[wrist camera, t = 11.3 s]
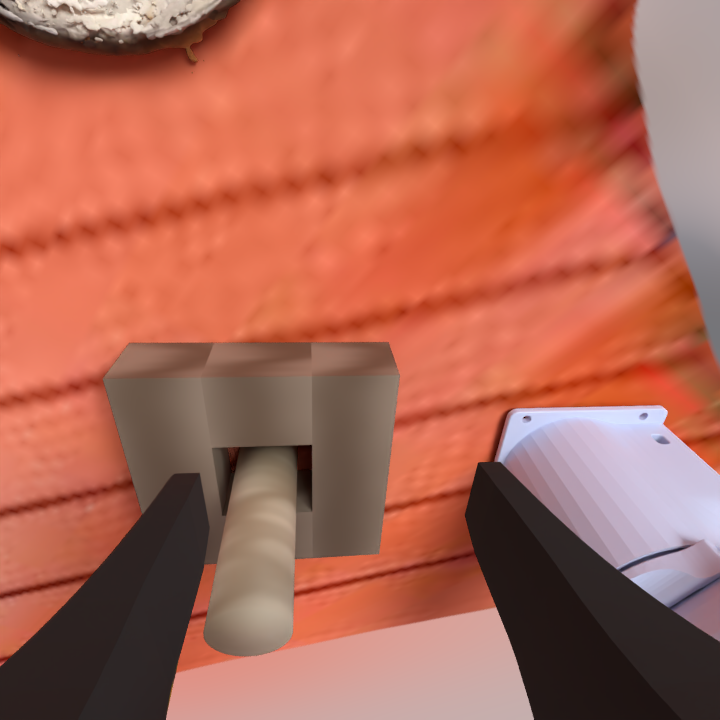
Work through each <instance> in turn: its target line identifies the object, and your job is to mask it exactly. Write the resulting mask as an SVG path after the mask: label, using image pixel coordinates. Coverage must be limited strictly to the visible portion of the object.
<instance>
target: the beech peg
mask: <svg viewBox="0 0 720 720" xmlns="http://www.w3.org/2000/svg"><path fill="white" fill-rule="evenodd" d="M297 463H298V445H289V446H255V447H240V450H239V455H238V460H237V465H236V470H235V475H234V480H233V485H232V490H231V495H230V500H229V505H228V511H227V516H226V521H225V526H224V531H223V536H222V541H221V546H220V551H219V556H218V561H217V566H216V571H215V577H214V582H213V587H212V592H211V597H210V602H209V607H208V612H207V617H206V622H205V627H204V633H203V634H204V639H205V641H206V643H207V644H208V645H209V646H210V647H212V648H213V649H215V650H217V651H219V652H221V653H224V654H228V655H234V656H257V655H262V654H266V653H270V652H272V651H275V650H277V649H279V648H281V647H282V646H284V645H285V644H286V643H287V642H288V641H289V640H290V638H291V636H292V634H293V608H294V572H295V535H296V499H297Z"/></svg>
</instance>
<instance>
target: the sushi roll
mask: <svg viewBox="0 0 720 720" xmlns="http://www.w3.org/2000/svg"><path fill="white" fill-rule="evenodd" d="M239 1H240V0H0V23H1V24H3V25H5V26H6V27H8V28H10V29H11V30H13V31H15V32H17V33H18V34H20V35H23V36H25V37H27V38H29V39H32V40H35V41H37V42H40V43H43V44H46V45H48V46H53V47H57V48H62V49H67V50H73V51H79V52H85V53H92V54H100V55H116V56H125V55H143V54H147V53H150V52H154V51H157V50H161V49H165V48H180V47H181V48H185V49H186V52H187V55H188V57H189V59H190V60H192V61H193V62H195V63H196V62H198V59H197V58H196V56H195V55H194V54H193V51H192V50H191V48H190V46H191V45H192V44H193V43H198V42H200V41H202V39H203V36H202V35H203V32H204V31H205V30H207V29H208V28H210V27H212V26H213V25H215V24H216V23H217V20H221V19H224V18H226V15H227V12H228V10H229V8H230V7H232V6H234V5H235V4H237V3H238V2H239ZM18 55H19V54H18ZM19 56H20V55H19ZM203 61H204V60H203ZM192 73H193V72H192Z"/></svg>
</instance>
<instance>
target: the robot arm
mask: <svg viewBox="0 0 720 720" xmlns="http://www.w3.org/2000/svg"><path fill="white" fill-rule="evenodd" d="M667 413H668V412H667V410H666V409H665V408H664V407H662V406H659V405H655V406H609V407H562V408H517V409H513V410H511V411H510V412H509V413H508V415H507V417H506V421H505V424H504V428H503V432H502V435H501V439H500V442H499V446H498V450H497V453H496V457H495V460H494V462H479V463H478V465H477V469H476V473H475V477H474V481H473V485H472V489H471V493H470V497H469V501H468V505H467V509H466V513H465V517H466V521H467V525H468V529H469V533H470V537H471V541H472V544H473V548H474V551H475V554H476V557H477V559H478V562H479V565H480V567H481V570H482V572H483V575H484V577H485V580H486V582H487V585H488V587H489V590H490V592H491V595H492V597H493V600H494V602H495V605H496V607H497V610H498V612H499V615H500V617H501V620H502V622H503V625H504V627H505V630H506V632H507V635H508V637H509V640H510V643H511V645H512V648H513V651H514V654H515V657H516V660H517V663H518V666H519V670H520V673H521V676H522V679H523V683H524V686H525V689H526V692H527V696H528V699H529V703H530V706H531V710H532V713H533V717H534V720H720V475H719V474H718V473H717V472H716V471H714V470H713V469H712V468H711V467H710V466H709V465H708V464H707V463H706V462H704V461H703V460H702V459H701V458H700V457H699V456H698V455H697V454H696V453H694V452H693V451H692V450H691V449H690V448H689V447H688V446H687V445H686V444H684V443H683V442H682V441H681V440H680V439H679V438H678V437H677V436H675V435H674V434H673V433H672V432H671V431H670V430H669V429H668V428H667V427H665V426H664V425H663V422H664V420H665V418H666V416H667ZM525 416H527V417H526V418H524V419H523V417H525ZM209 530H210V526H209V521H208V515H207V510H206V504H205V499H204V493H203V488H202V482H201V477H200V473H176V474H173V475H172V476H171V477H170V478H169V480H168V481H167V482H166V484H165V485H164V487H163V488H162V489H161V491H160V492H159V493H158V495H157V496H156V497H155V499H154V500H153V501H152V503H151V504H150V505H149V507H148V508H147V509H146V511H145V512H144V513H143V514H142V516H141V517H140V518H139V520H138V521H137V522H136V523H135V525H134V526H133V527H132V528H131V530H130V531H129V532H128V533H127V534H126V536H125V537H124V538H123V539H122V541H121V542H120V543H119V544H118V545H117V547H116V548H115V549H114V550H113V552H112V553H111V554H110V555H109V556H108V557H107V559H106V560H105V561H104V562H103V563H102V564H101V565H100V566H99V568H98V569H97V570H96V571H95V572H94V573H93V574H92V575H91V577H90V578H89V579H88V580H87V581H86V582H85V583H84V584H83V586H82V587H81V588H80V589H79V590H78V591H77V592H76V593H75V594H74V595H73V596H72V597H71V598H70V599H69V600H68V602H67V603H66V604H65V605H64V606H63V607H62V608H61V609H60V610H59V611H58V612H57V613H56V614H55V615H54V616H53V617H52V618H51V619H50V620H49V621H48V622H47V623H46V624H45V625H44V626H43V627H42V628H41V629H40V630H39V631H38V632H37V633H36V634H35V635H34V636H33V637H32V638H31V639H29V640H28V641H27V642H26V643H25V644H24V645H23V646H22V647H21V648H20V649H19V650H18V651H17V652H16V653H14V654H13V655H12V656H11V657H10V658H9V659H8V660H7V661H6V662H5V663H4V664H3V665H2V666H1V667H0V720H166V715H167V710H168V704H169V699H170V694H171V689H172V685H173V680H174V676H175V672H176V668H177V664H178V660H179V657H180V653H181V649H182V646H183V642H184V638H185V635H186V631H187V628H188V624H189V620H190V617H191V613H192V609H193V606H194V602H195V598H196V595H197V591H198V587H199V584H200V580H201V576H202V572H203V568H204V562H205V556H206V550H207V543H208V537H209Z"/></svg>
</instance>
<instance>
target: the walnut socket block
mask: <svg viewBox="0 0 720 720" xmlns="http://www.w3.org/2000/svg"><path fill="white" fill-rule="evenodd" d="M399 378H400V374H399V371H398V368H397V365H396V363H395V360H394V357H393V354H392V351H391V348H390V345H389V342H354V343H129V344H128V346H127V347H126V348H125V350H124V351H123V352H122V354H121V355H120V356H119V358H118V359H117V360H116V362H115V363H114V364H113V366H112V367H111V368H110V370H109V371H108V372H107V374H106V375H105V376H104V378H103V382H104V385H105V388H106V392H107V395H108V399H109V402H110V406H111V409H112V412H113V416H114V419H115V423H116V426H117V430H118V433H119V436H120V440H121V443H122V447H123V450H124V453H125V457H126V460H127V464H128V467H129V471H130V474H131V477H132V481H133V484H134V488H135V491H136V495H137V498H138V501H139V505H140V508H141V512H142V514H143V513H144V512H145V511H146V509H147V508H148V507H149V505H150V504H151V503H152V501H153V500H154V499H155V497H156V496H157V495H158V493H159V492H160V491H161V489H162V488H163V487H164V485H165V484H166V482H167V481H168V480H169V478H170V477H171V476H172V475H173V474H176V473H200V477H201V482H202V488H203V493H204V499H205V504H206V510H207V515H208V521H209V526H210V530H209V537H208V543H207V550H206V556H205V562H204V564H217V561H218V556H219V551H220V546H221V541H222V536H223V531H224V526H225V521H226V516H227V511H228V505H229V500H230V495H231V490H232V485H233V480H234V475H235V473H231V467H230V459H229V451H228V447H255V446H289V445H312V470H297V499H296V535H295V559H304V558H321V557H337V556H354V555H370V554H379V550H380V542H381V533H382V524H383V516H384V507H385V499H386V490H387V481H388V473H389V464H390V456H391V447H392V438H393V430H394V421H395V413H396V404H397V395H398V387H399Z"/></svg>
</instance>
